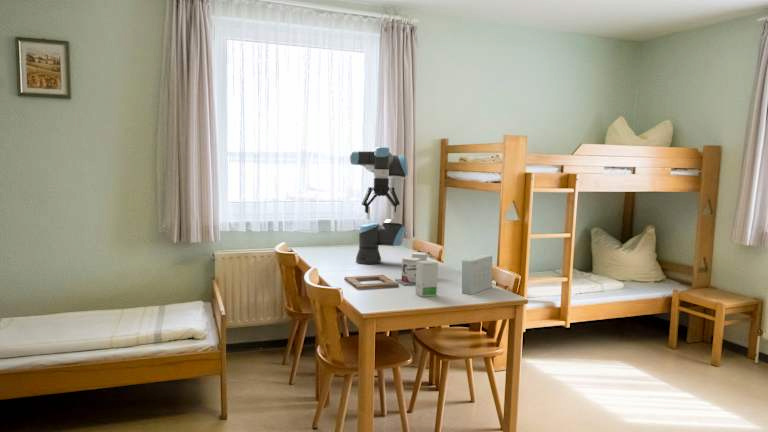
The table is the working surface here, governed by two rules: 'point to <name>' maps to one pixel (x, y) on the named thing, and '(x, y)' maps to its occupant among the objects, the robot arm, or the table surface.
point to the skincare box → (426, 278)
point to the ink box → (409, 269)
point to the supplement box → (420, 255)
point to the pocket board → (386, 283)
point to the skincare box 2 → (476, 274)
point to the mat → (405, 282)
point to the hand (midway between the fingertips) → (380, 218)
